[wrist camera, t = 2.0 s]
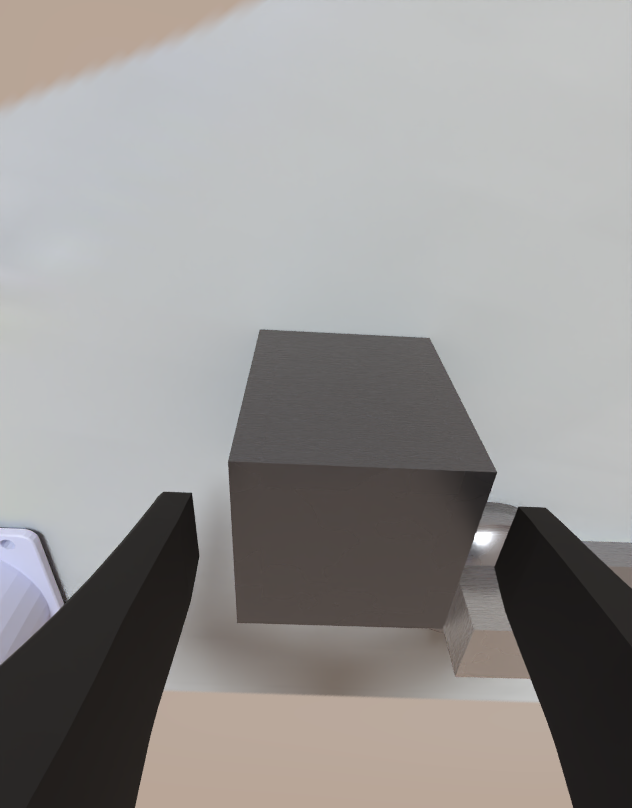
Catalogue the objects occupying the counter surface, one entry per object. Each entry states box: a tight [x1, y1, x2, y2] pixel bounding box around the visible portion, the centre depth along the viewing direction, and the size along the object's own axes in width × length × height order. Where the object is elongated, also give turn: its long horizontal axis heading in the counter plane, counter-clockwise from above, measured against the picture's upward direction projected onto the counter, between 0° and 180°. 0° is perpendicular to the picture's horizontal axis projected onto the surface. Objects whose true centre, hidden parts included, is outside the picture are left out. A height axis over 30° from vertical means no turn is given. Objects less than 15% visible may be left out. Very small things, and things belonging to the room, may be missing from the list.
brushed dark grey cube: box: [228, 330, 497, 629], centre depth 13 cm, size 5×5×6 cm
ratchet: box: [430, 502, 632, 679], centre depth 17 cm, size 15×6×4 cm, turn 87°
